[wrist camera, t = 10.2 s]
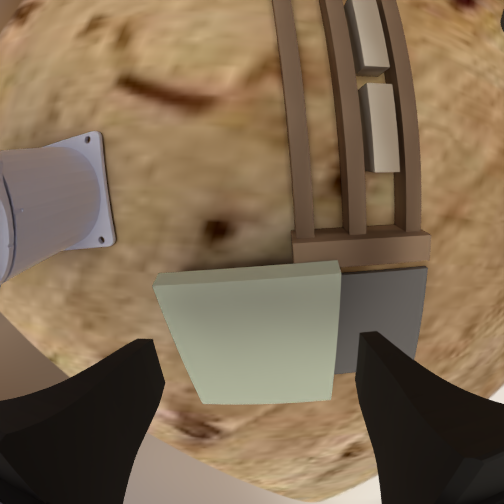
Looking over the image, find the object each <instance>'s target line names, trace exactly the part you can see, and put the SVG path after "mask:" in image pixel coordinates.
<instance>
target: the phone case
mask: <svg viewBox="0 0 504 504" xmlns="http://www.w3.org/2000/svg"><path fill="white" fill-rule="evenodd" d="M501 27H502V29H503V31H504V11H503V14H502V18H501Z"/></svg>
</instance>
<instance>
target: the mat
mask: <svg viewBox="0 0 504 504" xmlns="http://www.w3.org/2000/svg"><path fill="white" fill-rule="evenodd" d="M427 270H428V268H427V267H426V266H421V267H410V268H398V269H386V270H373V271H361V272H347V273H341V292H340V309H339V324H338V336H337V348H336V359H335V369H334V374H343V373H352V372H356V367H357V357H358V346H359V333H361V332H371V331H378V332H379V333H380V334H382V335H383V336H384V337H385V338H387V339H388V340H389V341H390V342H391V343H393V344H394V345H395V346H396V347H398V348H399V349H400V350H401V351H403V352H404V353H405V354H407V355H408V356H409V357H410V358H412V359H413V360H414V358H415V353H416V348H417V342H418V337H419V331H420V325H421V319H422V312H423V305H424V297H425V289H426V280H427Z"/></svg>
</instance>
